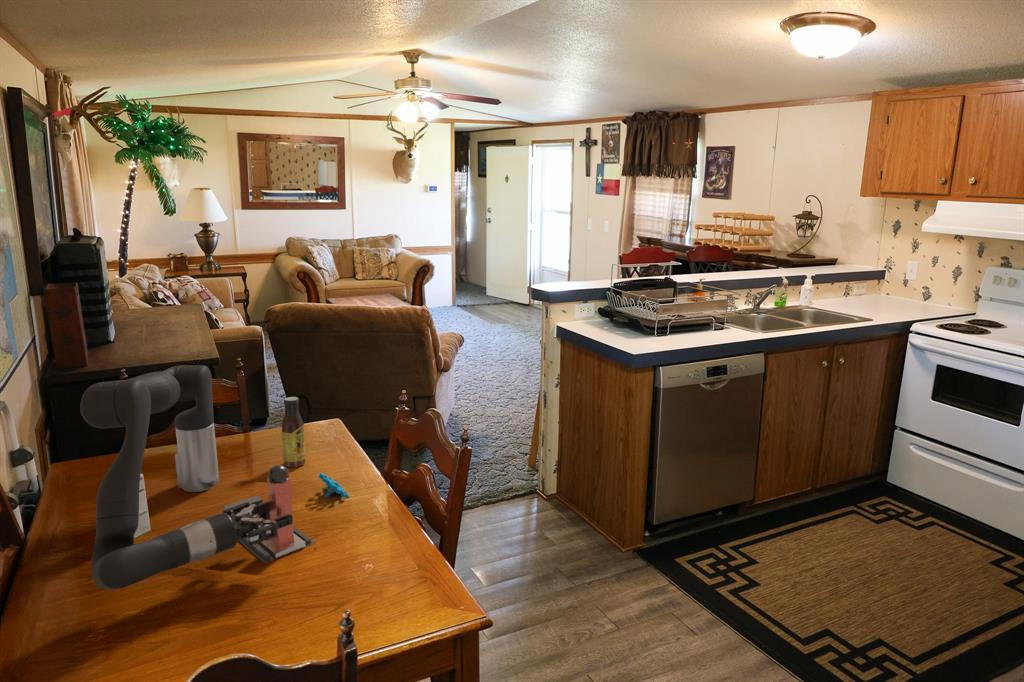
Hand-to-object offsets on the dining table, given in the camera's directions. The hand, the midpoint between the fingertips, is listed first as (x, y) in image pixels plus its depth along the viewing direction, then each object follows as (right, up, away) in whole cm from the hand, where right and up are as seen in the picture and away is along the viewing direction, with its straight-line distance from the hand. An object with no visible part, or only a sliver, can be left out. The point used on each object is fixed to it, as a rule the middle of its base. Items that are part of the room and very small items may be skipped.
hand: (282, 511), depth 147 cm
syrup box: (-38, -8, +9) cm, 40 cm away
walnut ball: (-12, -6, +12) cm, 18 cm away
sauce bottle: (-13, +1, +49) cm, 50 cm away
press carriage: (-1, -8, +3) cm, 8 cm away
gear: (+4, -4, +28) cm, 28 cm away
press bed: (-8, -8, +9) cm, 14 cm away
